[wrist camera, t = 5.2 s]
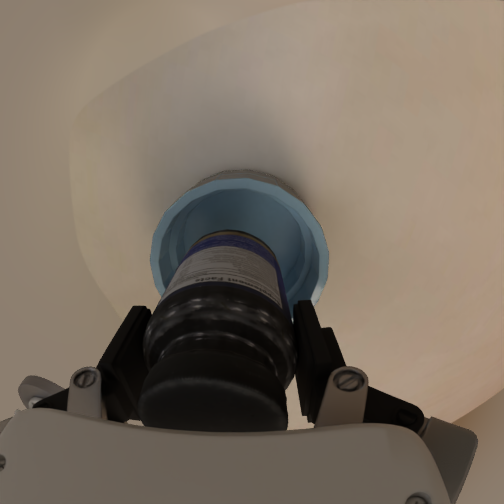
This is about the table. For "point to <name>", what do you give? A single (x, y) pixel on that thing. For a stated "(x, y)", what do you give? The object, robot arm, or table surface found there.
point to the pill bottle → (220, 341)
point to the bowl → (246, 229)
